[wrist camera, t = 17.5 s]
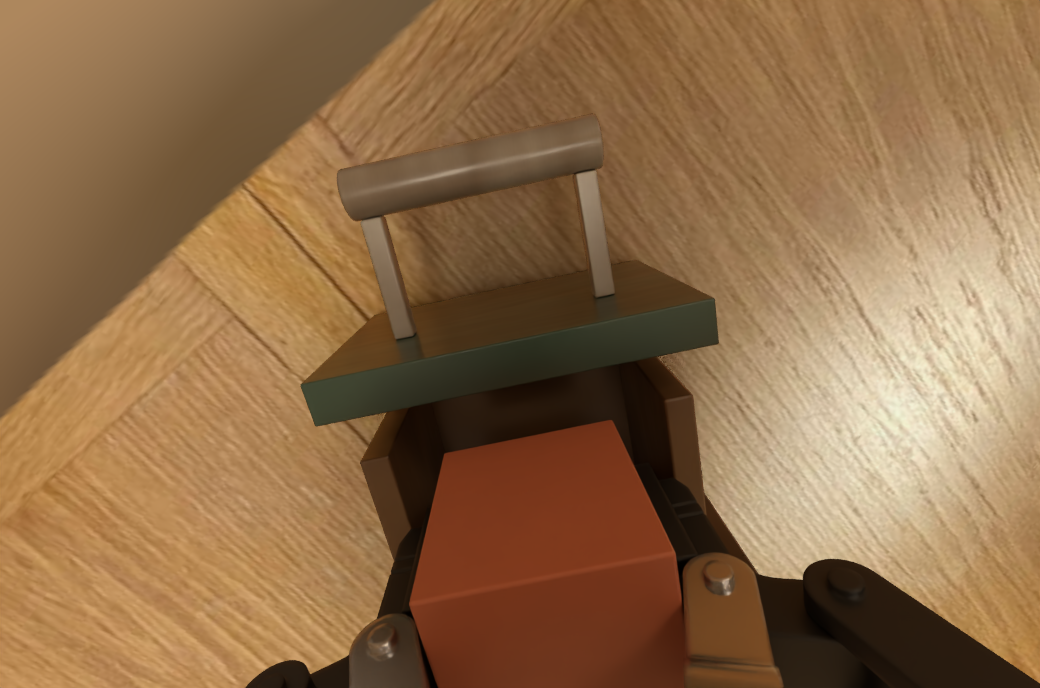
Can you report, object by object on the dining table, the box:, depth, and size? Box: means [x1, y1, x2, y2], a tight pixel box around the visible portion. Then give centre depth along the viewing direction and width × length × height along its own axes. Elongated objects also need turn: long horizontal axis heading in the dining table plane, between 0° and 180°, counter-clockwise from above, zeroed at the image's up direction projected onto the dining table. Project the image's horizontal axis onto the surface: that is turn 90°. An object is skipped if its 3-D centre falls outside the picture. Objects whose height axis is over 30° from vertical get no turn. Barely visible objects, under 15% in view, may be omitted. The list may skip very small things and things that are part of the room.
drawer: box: [301, 114, 719, 562], centre depth 17 cm, size 17×10×7 cm, turn 12°
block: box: [409, 420, 686, 688], centre depth 11 cm, size 4×4×5 cm
